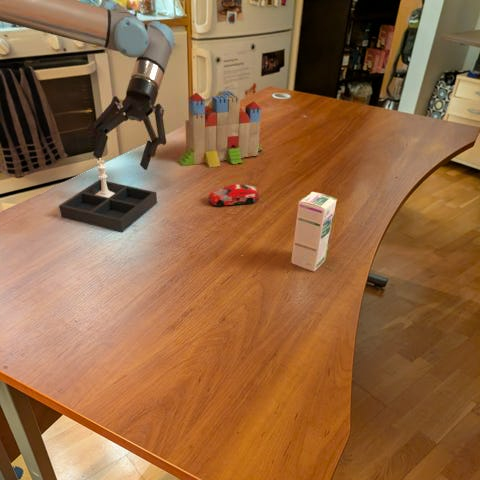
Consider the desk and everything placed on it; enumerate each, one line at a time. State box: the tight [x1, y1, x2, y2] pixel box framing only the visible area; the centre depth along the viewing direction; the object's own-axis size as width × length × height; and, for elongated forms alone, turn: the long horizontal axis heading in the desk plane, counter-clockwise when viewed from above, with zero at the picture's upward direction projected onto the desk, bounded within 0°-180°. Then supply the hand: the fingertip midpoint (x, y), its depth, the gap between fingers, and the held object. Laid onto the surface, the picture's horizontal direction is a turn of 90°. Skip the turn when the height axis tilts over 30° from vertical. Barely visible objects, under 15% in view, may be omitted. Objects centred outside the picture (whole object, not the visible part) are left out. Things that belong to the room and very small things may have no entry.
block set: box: [178, 90, 264, 168], centre depth 136 cm, size 28×14×19 cm, turn 115°
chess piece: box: [96, 158, 115, 198], centre depth 112 cm, size 5×5×10 cm
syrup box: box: [290, 191, 338, 273], centre depth 94 cm, size 6×6×14 cm
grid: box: [58, 179, 158, 233], centre depth 111 cm, size 16×16×3 cm
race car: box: [208, 183, 260, 208], centre depth 118 cm, size 13×5×4 cm, turn 106°
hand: (119, 162), depth 117 cm, fingers open, 13 cm apart
